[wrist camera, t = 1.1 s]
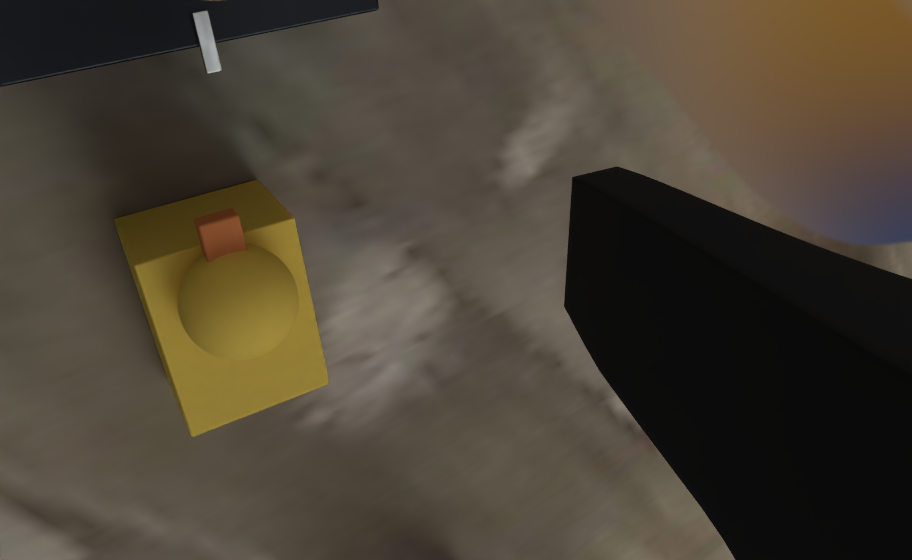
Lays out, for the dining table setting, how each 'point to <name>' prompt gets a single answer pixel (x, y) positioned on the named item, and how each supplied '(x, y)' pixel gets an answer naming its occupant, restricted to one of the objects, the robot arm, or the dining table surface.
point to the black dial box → (140, 30)
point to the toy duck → (226, 302)
